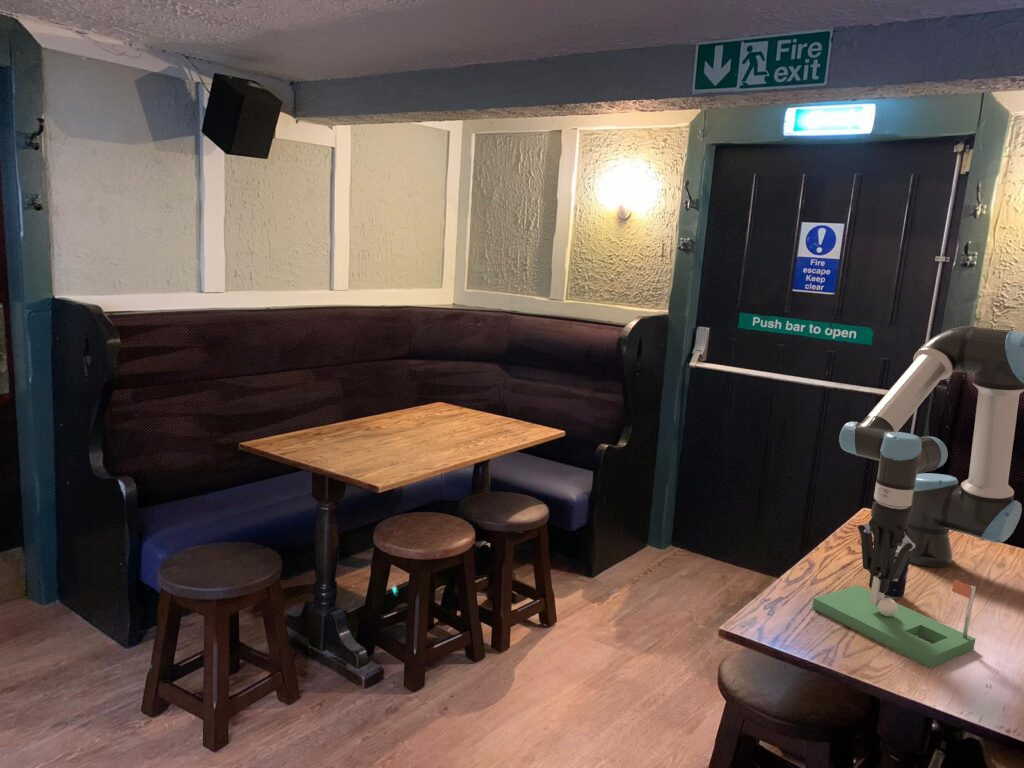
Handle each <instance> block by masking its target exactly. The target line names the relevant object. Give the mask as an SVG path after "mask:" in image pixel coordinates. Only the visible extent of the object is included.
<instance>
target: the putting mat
mask: <svg viewBox="0 0 1024 768" xmlns="http://www.w3.org/2000/svg"><path fill="white" fill-rule="evenodd" d="M870 596H871V590H869V589H867V588H864V587H863V586H860V585H857V584H855V585H852V586H849V587H846V588H843V589H839V590H836V591H833V592H830V593H829V592H828V593H826V594H823V595H819V596H816V597H813V600H812V609H813V610H815V611H817V612H819V613H821V614H823V615H824V616H827V617H829V618H831V619H833V620H834V621H837V622H839V623H840V624H842V625H844V626H847V627H849V628H851V629H852V630H855V631H856V632H858V633H860V634H863V635H864V636H866V637H868V638H871V639H872V640H874V641H876V642H879V643H880V644H882V645H884V646H887V647H888V648H890V649H893V650H894V651H896V652H899V653H900V654H902V655H904V656H905V657H908V658H910V659H911V660H913V661H916V662H917V663H920V664H922V665H923V666H926V667H928V668H930V669H932V668H935V667H937V666H939V665H941V664H944V663H946V662H948V661H951V660H953V659H955V658H957V657H960V656H962V655H964V654H967V653H969V652H971V651H974V649H975V644H976V638H975V637H973V636H970V635H969V634H967V638H964V637H962V636H963V631H960V630H958V629H956V628H953V627H952V626H951V627H950V626H948V625H946V624H944V623H942V622H939V621H937V620H935V619H933V618H930V617H928V616H926V615H924V614H921V613H919V612H917V611H916V610H913V609H911V608H910V607H909V608H908V607H906V606H905V605H902V604H901V603H900V604H899V603H897V602H896V604H897V607H898V610H897V613H896V614H895V615H893V616H891V617H887V616H884V615H882V614H881V613H880V612H879V610H878V606H873V605H871V604H869V602H870ZM921 637H922V638H921ZM923 638H924V639H923ZM925 639H926V640H925ZM927 640H928V641H927ZM929 641H930V642H929ZM931 642H932V643H931Z"/></svg>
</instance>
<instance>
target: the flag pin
mask: <svg viewBox="0 0 1024 768" xmlns="http://www.w3.org/2000/svg"><path fill="white" fill-rule="evenodd" d="M951 587H952V589H951V591H952V592H953V593H954V594H957V595H959V596H963V597H965V598H967V599H968V603H967V609H966V615H965V620H964V626H963V631H962V633H963V636H962V637H964V638H967V635H968V632H969V626H970V621H971V618H972V617H971V616H972V611H973V604H974V600H975V595H976V594H975V593H976V588H977V586H975V585H970V584H968V583H965V582H963V581H960V580H958V579H953V581H952V586H951Z"/></svg>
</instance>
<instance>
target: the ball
mask: <svg viewBox="0 0 1024 768" xmlns="http://www.w3.org/2000/svg"><path fill="white" fill-rule="evenodd" d="M896 603H897V602H896V601H895V599H891V598H887V597H884V598H883V599H881V600H880V601H879V602H878V610H879V612H880V613H881V614H882V615H884V616H887V617H891V616H893V615H895V614H896V613H897V610H898V607H897V604H896Z"/></svg>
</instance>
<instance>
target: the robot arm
mask: <svg viewBox="0 0 1024 768" xmlns="http://www.w3.org/2000/svg"><path fill="white" fill-rule="evenodd" d="M912 361H913V362H912V363H911V364H910V365H909V367H907V369H906V370H905V371H904V372H903V373H902V375H901V376H900V377H899V378H898V380H897V381H896V382H895V383H894V384H893V385H892V386H891V387H890V389H889V390H888V391H887V392H886V393H885V395H884V396H883V397H882V398H881V399H880V401H879V402H877V404H876V405H875V406H874V407H873V409H872V410H871V411H870V412H869V413H868V415H867V416H866V417H864V419H863V420H862V421H861V422H858V421H849V422H846V423H845V424H844V425H843V427H842V428H841V430H840V433H839V438H838V439H839V440H838V442H839V446H840V448H841V449H842V450H843V452H846V453H850V454H852V455H855V456H857V457H862V458H866V459H870V460H874V461H879V462H878V470H877V477H876V481H875V487H874V493H873V499H874V500H873V501H872V505H871V513H870V517H871V518H870V520H869V521H868V523H863V524H859V525H858V526H857V530H858V532H859V534H860V541H861V542H860V543H861V544H860V545H861V557H862V558H861V559H862V560H861V561H862V568H863V569H864V570H867V571H868V572H869V574H870V575H869V582H868V588H870V591H871V596H870V602H869V604H871V605H873V606H878V602H879V601H880V600H881V599H883V598H885V596H884V593H886V592H888V589H889V583H890V580H895V579H898V578H900V576H901V573H902V571H903V569H904V567H905V565H906V563H907V560H908V558H909V556H910V560H909V564H914V565H918V566H922V567H927V568H945V567H949V566H950V565H952V559H953V552H952V546H951V542H950V536H949V535H950V530H954V531H956V532H960V533H963V534H966V535H968V536H972V537H973V538H976V539H977V538H978V539H981V540H982V541H989V542H991V543H995V544H1000V543H1004V542H1005V541H1007V540H1008V539H1009V538H1010V537H1011V535H1012V534H1013V533H1014V531H1015V529H1016V527H1017V525H1018V523H1019V521H1020V518H1021V515H1022V510H1023V507H1022V504H1021V502H1019V501H1018V500H1014V497H1015V490H1014V489H1013V488H1012V486H1010V485H1009V478H1010V471H1011V464H1012V463H1011V462H1012V453H1013V446H1014V440H1015V432H1016V425H1017V414H1018V408H1019V403H1020V402H1019V400H1020V395H1021V393H1023V392H1024V332H1020V331H1016V330H1007V329H997V328H988V327H977V326H971V325H964V326H962V325H961V326H957V327H954V328H953V327H952V328H951V329H947V330H945V331H943V332H941V333H939V334H936V335H935V336H934V337H932V338H930V339H929V340H927V341H926V342H925V343H923V344H922V345H921V346H920V347H919V349H918V350H917V351H916V352H915V353H914V355H913V358H912ZM957 372H958V373H965V374H971V375H973V376H972V385H973V386H975V388H976V389H977V393H978V394H977V402H976V408H975V411H976V412H975V419H974V420H975V421H974V429H973V436H972V445H971V452H970V453H971V455H970V463H969V472H968V478H967V479H965V480H963V481H962V482H961V483H960V485H958V484H959V480H958V478H957V477H955V476H953V475H949V474H941V473H933V472H934V471H936V470H937V469H938V468H940V467H943V466H944V464H945V463H946V462H947V459H948V455H949V454H948V448H947V445H946V444H945V443H944V442H943V441H942V440H941V439H939V438H937V437H934V436H926V435H925V436H921V437H920V436H918V435H917V434H913V433H908V432H903V431H900V429H901V428H902V427H903V426H904V425H905V424H906V422H907V421H908V420H909V419H910V417H912V415H913V414H914V413H915V411H916V410H917V409H918V408H919V407H920V406H921V404H922V403H923V402H924V401H925V399H926V398H927V397H928V396H929V394H930V393H932V391H933V390H934V388H936V386H937V385H938V384H939V383H940V382H941V380H946V379H948V378H949V377H951V375H952V374H953V373H957ZM932 471H933V472H932ZM926 472H927V473H926ZM928 472H932V473H928ZM898 545H899V546H902V548H901V550H900V551H899V553H898V556H897V558H896V560H895V554H896V550H897V548H898ZM894 560H895V562H894ZM880 573H881V574H880Z"/></svg>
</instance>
